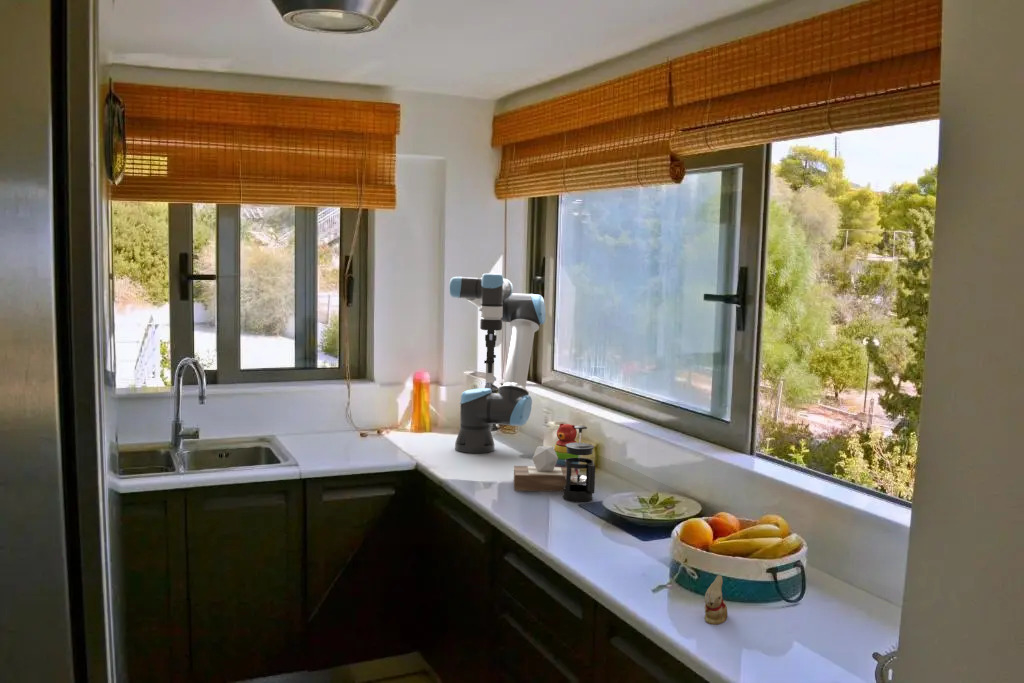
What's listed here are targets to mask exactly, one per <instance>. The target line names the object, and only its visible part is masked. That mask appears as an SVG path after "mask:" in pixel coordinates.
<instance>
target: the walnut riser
mask: <svg viewBox="0 0 1024 683" xmlns="http://www.w3.org/2000/svg"><path fill="white" fill-rule="evenodd" d="M571 475H576V472H575V469H574V468H572V469H571ZM566 476H567V467H554V470H553V472H547V471H537V470H536V467H535V465H533V466H531V465H529V466H528V465H514V466H513V485H514V486H513V488H514V491H525V492H526V491H528V492H529V491H533V492H537V491H538V492H564V486H566V479H565V477H566ZM571 484H578V483H571Z"/></svg>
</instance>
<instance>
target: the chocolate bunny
mask: <svg viewBox="0 0 1024 683" xmlns="http://www.w3.org/2000/svg"><path fill="white" fill-rule="evenodd" d="M723 582H724V580H723V576H722V575H720V574H718V575H717V576H716V577H715V579H714V580H713V582H712V583H710V586H709V587H708V588H707V589H706V592H705V593H704V597H703V598H704V603H705V604H704V622H706V624H709V625H714V626H716V625H717V626H718V625H720V624H723V623H725V622H726V621H727V619H728V608H727V604H726V602H725V601H724V600H725V599H723V592H722V591H723V590H722V587H723Z"/></svg>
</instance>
